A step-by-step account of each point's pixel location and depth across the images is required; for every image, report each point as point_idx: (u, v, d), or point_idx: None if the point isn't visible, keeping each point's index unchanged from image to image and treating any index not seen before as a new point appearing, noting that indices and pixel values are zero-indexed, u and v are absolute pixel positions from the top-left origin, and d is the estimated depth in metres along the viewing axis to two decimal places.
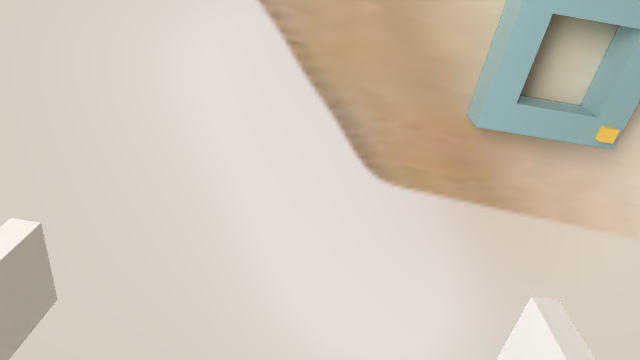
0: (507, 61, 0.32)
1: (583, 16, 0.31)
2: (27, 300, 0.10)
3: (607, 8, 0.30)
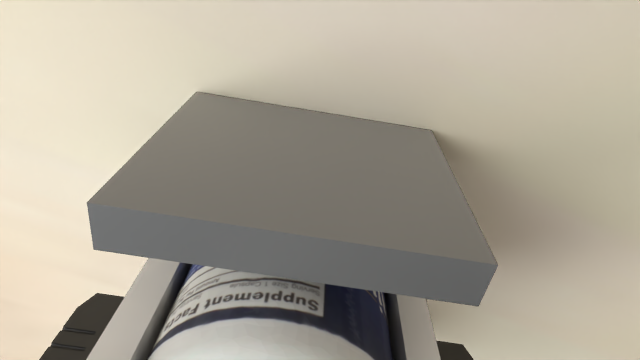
0: None
1: None
2: None
3: None
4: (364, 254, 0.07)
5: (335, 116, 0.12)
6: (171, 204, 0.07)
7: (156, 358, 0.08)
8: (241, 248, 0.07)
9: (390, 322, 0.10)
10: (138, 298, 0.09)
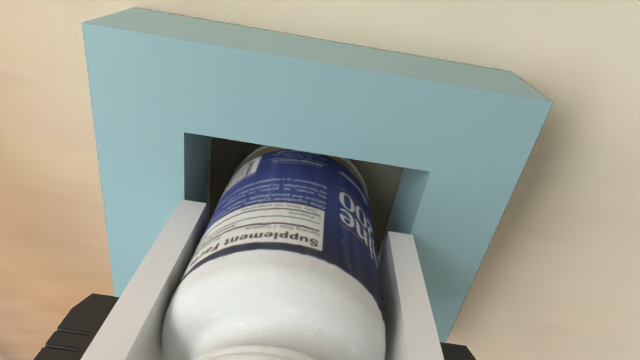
0: (125, 233, 0.13)
1: (264, 139, 0.12)
2: None
3: (319, 120, 0.11)
4: None
5: None
6: None
7: (185, 284, 0.09)
8: None
9: (393, 323, 0.10)
10: (133, 298, 0.09)
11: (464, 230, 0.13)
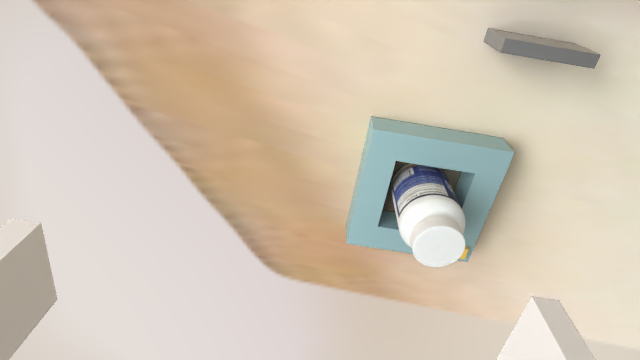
0: (364, 195, 0.37)
1: (422, 163, 0.36)
2: (27, 300, 0.11)
3: (440, 157, 0.35)
4: None
5: None
6: None
7: (410, 204, 0.33)
8: None
9: None
10: None
11: (486, 193, 0.37)
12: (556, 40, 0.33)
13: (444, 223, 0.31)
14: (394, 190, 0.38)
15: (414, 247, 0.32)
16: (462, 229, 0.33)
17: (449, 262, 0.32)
